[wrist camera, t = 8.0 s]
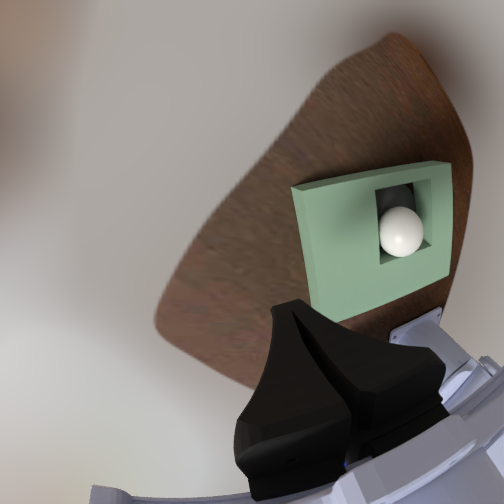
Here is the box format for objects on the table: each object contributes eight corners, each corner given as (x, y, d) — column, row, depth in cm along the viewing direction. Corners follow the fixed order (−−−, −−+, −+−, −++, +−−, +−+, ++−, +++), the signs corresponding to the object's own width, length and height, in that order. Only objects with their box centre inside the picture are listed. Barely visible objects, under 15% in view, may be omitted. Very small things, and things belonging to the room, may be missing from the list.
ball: (390, 271, 18) (362, 240, 21) (421, 262, 19) (393, 235, 22) (409, 227, 16) (374, 198, 19) (439, 222, 17) (407, 196, 20)
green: (433, 265, 24) (448, 274, 22) (312, 311, 23) (322, 327, 21) (432, 160, 20) (450, 163, 18) (290, 186, 19) (301, 191, 17)
